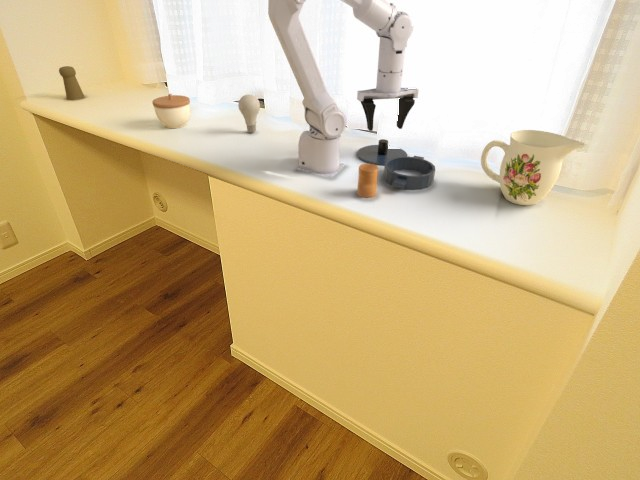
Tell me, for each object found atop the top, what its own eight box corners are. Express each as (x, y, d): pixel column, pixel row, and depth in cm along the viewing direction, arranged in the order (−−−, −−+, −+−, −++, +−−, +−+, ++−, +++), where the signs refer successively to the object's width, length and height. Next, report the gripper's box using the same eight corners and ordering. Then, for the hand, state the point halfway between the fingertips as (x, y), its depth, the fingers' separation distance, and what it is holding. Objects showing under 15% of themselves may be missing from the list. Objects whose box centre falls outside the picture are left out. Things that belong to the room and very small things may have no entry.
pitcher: (483, 176, 96) (498, 118, 88) (567, 199, 86) (591, 137, 78) (465, 193, 88) (479, 132, 81) (554, 220, 79) (579, 153, 71)
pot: (372, 190, 90) (373, 175, 87) (395, 163, 102) (397, 149, 100) (422, 201, 85) (424, 185, 83) (440, 172, 98) (442, 157, 96)
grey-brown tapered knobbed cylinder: (88, 97, 153) (78, 66, 147) (72, 100, 149) (62, 69, 143) (78, 95, 156) (69, 64, 150) (63, 98, 151) (52, 67, 145)
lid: (349, 161, 103) (350, 144, 100) (367, 145, 112) (368, 129, 110) (398, 171, 98) (400, 153, 95) (412, 153, 108) (415, 137, 105)
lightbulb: (248, 137, 117) (244, 98, 111) (237, 132, 121) (233, 94, 115) (266, 133, 120) (263, 95, 114) (255, 127, 124) (251, 90, 118)
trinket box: (157, 132, 121) (150, 100, 115) (157, 121, 129) (151, 91, 124) (194, 128, 123) (189, 97, 118) (192, 118, 132) (187, 88, 127)
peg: (354, 197, 87) (356, 169, 83) (361, 189, 90) (363, 162, 86) (371, 201, 85) (374, 172, 82) (378, 193, 88) (381, 165, 85)
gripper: (364, 75, 89) (361, 135, 96) (426, 72, 91) (418, 131, 99) (355, 69, 94) (353, 126, 102) (414, 66, 97) (407, 122, 104)
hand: (384, 128), depth 101 cm, fingers open, 7 cm apart
